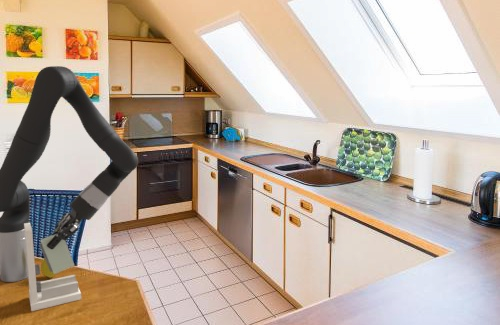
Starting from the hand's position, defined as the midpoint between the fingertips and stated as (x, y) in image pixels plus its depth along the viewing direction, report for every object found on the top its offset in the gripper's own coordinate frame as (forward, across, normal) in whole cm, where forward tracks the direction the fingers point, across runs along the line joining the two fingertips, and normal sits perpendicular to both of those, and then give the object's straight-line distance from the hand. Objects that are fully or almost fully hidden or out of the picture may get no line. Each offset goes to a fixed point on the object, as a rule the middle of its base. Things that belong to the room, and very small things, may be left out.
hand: (48, 245), depth 118 cm
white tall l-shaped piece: (+12, 0, +13) cm, 17 cm away
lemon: (+12, -16, +13) cm, 23 cm away
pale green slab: (+3, 0, +8) cm, 9 cm away
